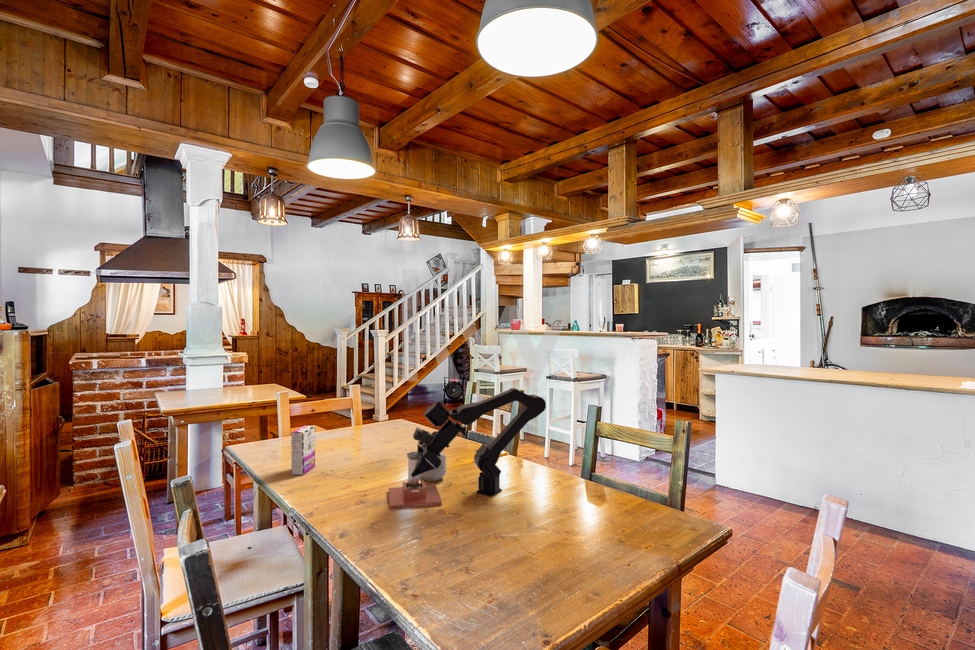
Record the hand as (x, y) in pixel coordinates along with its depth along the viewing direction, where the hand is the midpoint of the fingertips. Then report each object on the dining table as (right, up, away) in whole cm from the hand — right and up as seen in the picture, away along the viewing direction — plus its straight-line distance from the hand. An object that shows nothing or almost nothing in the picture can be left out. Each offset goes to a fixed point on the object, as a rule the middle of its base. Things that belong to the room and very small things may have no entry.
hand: (410, 471), depth 148 cm
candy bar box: (-47, -9, +28) cm, 55 cm away
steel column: (+1, -7, 0) cm, 7 cm away
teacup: (+5, -9, +21) cm, 24 cm away
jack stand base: (+1, -9, 0) cm, 9 cm away
